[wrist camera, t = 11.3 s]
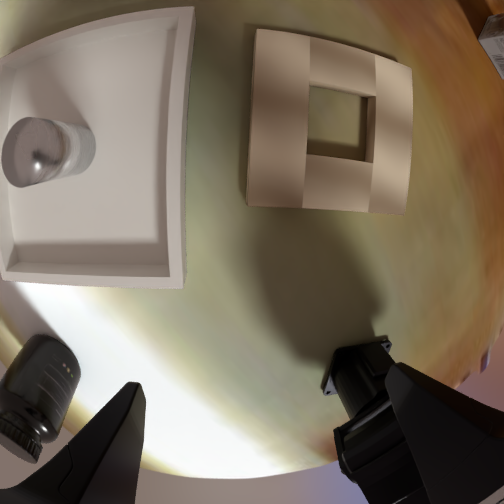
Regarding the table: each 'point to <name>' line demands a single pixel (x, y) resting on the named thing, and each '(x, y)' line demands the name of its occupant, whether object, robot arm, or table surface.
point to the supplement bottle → (36, 396)
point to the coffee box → (494, 41)
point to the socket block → (296, 127)
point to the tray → (103, 153)
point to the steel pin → (46, 151)
